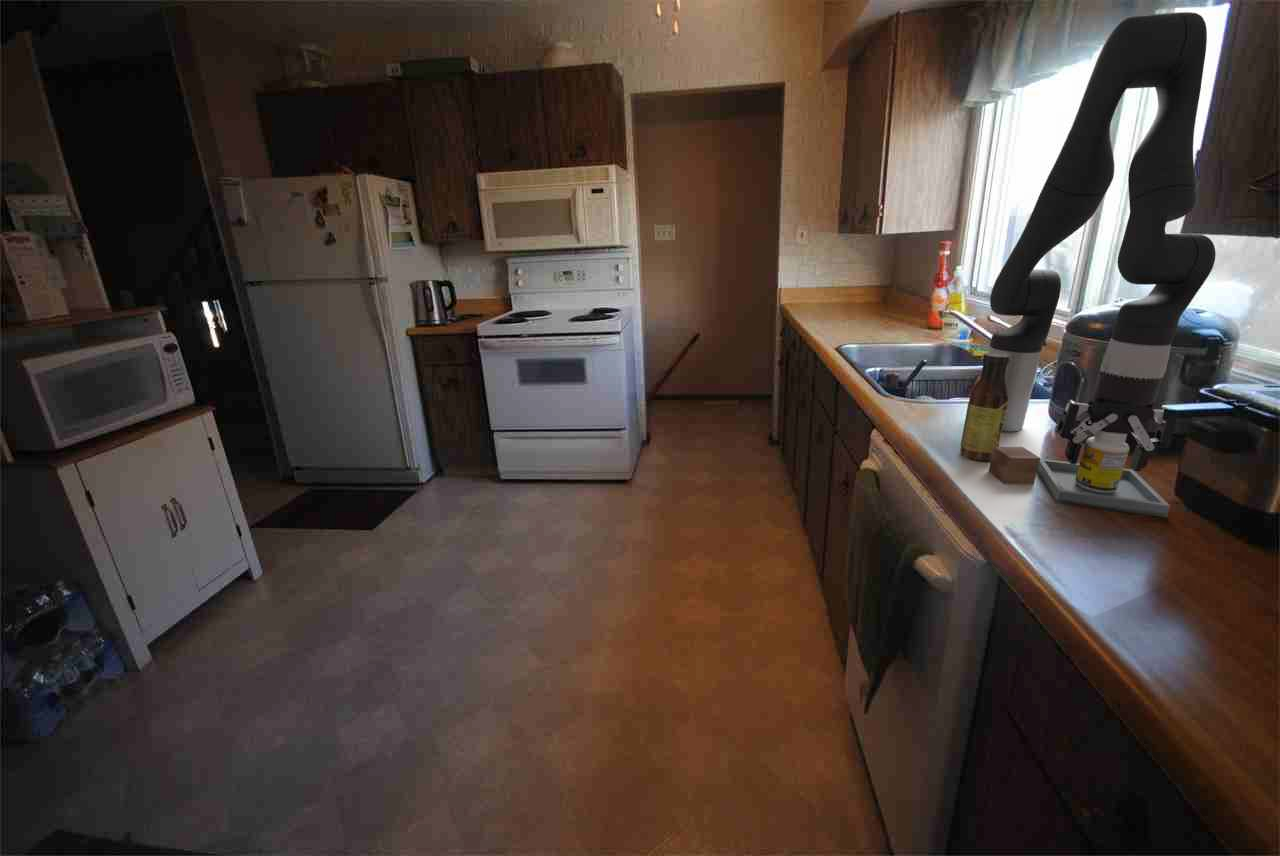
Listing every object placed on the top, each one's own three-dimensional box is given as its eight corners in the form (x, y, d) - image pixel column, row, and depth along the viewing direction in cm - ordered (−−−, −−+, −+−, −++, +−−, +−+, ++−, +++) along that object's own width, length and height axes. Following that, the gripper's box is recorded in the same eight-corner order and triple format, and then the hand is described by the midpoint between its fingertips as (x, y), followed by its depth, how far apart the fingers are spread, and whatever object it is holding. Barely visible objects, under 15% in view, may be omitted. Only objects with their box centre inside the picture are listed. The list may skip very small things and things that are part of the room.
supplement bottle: (1069, 478, 97) (1085, 422, 93) (1108, 483, 95) (1126, 426, 91) (1079, 491, 92) (1096, 434, 88) (1121, 497, 90) (1140, 438, 86)
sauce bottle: (1001, 463, 104) (1025, 359, 97) (964, 461, 105) (986, 358, 98) (987, 450, 110) (1010, 351, 103) (953, 448, 111) (973, 350, 104)
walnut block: (988, 472, 101) (993, 446, 99) (1016, 472, 101) (1022, 446, 99) (1004, 484, 96) (1010, 458, 95) (1033, 484, 96) (1040, 458, 94)
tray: (1035, 468, 102) (1037, 458, 101) (1129, 480, 97) (1133, 469, 96) (1056, 502, 90) (1060, 491, 89) (1166, 517, 85) (1170, 506, 84)
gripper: (1178, 368, 87) (1146, 463, 93) (1069, 361, 92) (1045, 451, 98) (1202, 380, 80) (1167, 481, 86) (1083, 372, 85) (1057, 468, 91)
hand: (1102, 465), depth 92 cm, fingers open, 8 cm apart
